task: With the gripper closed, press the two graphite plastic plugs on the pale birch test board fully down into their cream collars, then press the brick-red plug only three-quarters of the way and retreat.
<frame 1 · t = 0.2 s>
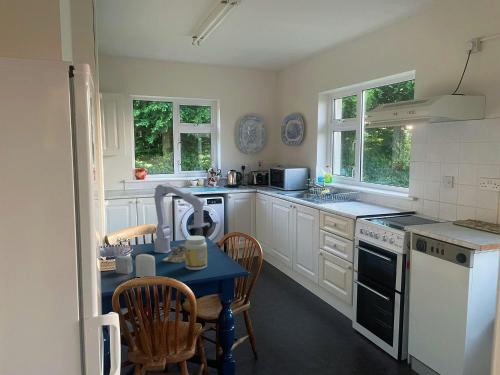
hand: (199, 239, 236), 10 cm above the table, fingers open, 7 cm apart
medicine box: (124, 272, 205), on the table
supplement tub: (196, 267, 213), on the table
test board: (181, 256, 233), on the table
red plug: (187, 245, 239), point 5 cm above the table, slide at 0.0 cm
plug b: (181, 248, 233), point 5 cm above the table, slide at 0.0 cm
plug a: (174, 251, 226), point 5 cm above the table, slide at 0.0 cm
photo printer: (145, 277, 197), on the table
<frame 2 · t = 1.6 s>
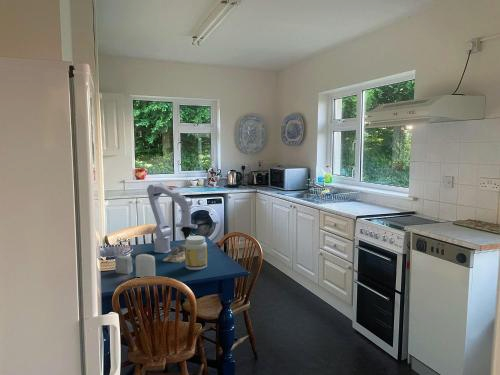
hand: (186, 239, 235), 10 cm above the table, fingers closed
nothing on the table moved.
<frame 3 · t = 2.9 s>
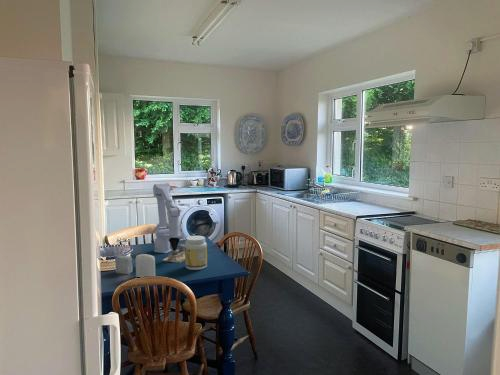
hand: (174, 250, 226), 6 cm above the table, fingers closed, pressing on plug a
plug a: (174, 253, 226), point 4 cm above the table, slide at 1.3 cm, touching gripper
everything else where it was.
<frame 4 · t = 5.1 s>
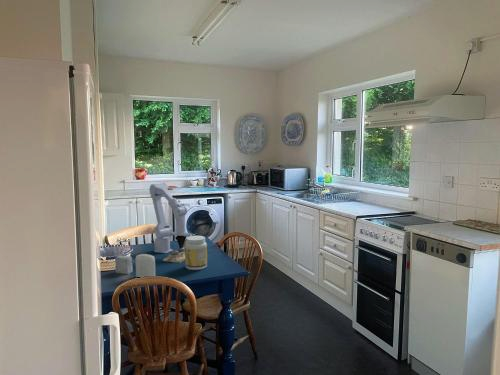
hand: (181, 247, 233), 6 cm above the table, fingers closed, pressing on plug b
plug b: (181, 251, 233), point 4 cm above the table, slide at 1.6 cm, touching gripper
plug a: (174, 254, 226), point 3 cm above the table, slide at 1.9 cm
everything else where it was.
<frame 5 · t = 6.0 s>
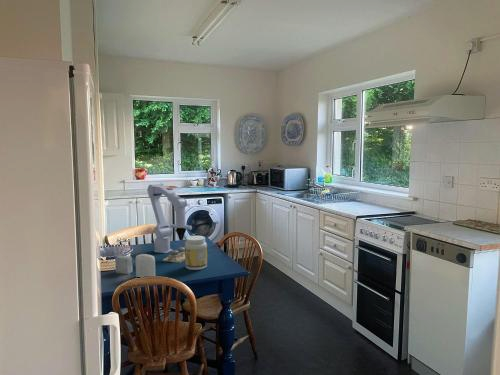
hand: (181, 240, 232), 10 cm above the table, fingers closed
plug b: (181, 251, 233), point 3 cm above the table, slide at 1.9 cm
everything else where it was.
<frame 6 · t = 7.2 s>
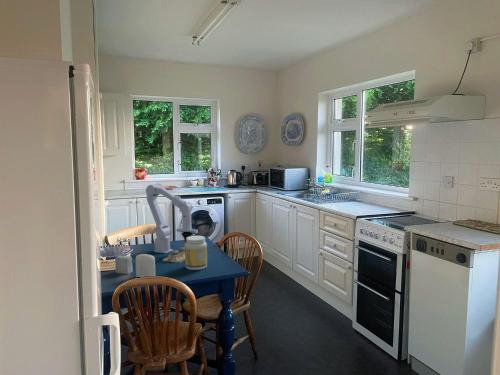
hand: (187, 243, 239), 7 cm above the table, fingers closed, pressing on red plug
red plug: (187, 246, 239), point 5 cm above the table, slide at 0.7 cm, touching gripper
everything else where it was.
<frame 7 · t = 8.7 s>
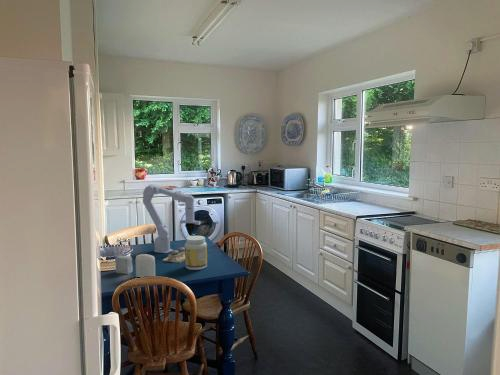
hand: (190, 234, 246), 10 cm above the table, fingers closed
red plug: (187, 247, 239), point 4 cm above the table, slide at 1.4 cm
everything else where it was.
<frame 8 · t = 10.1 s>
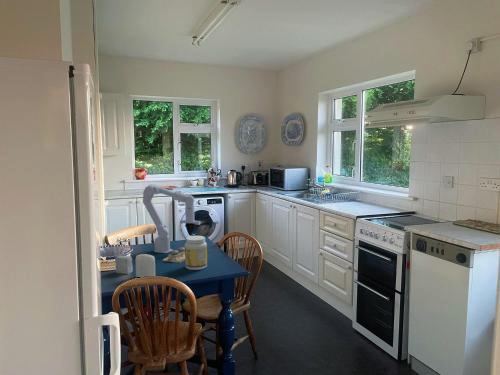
hand: (190, 234, 246), 10 cm above the table, fingers closed
nothing on the table moved.
at the end: plug a slide at 1.9 cm; plug b slide at 1.9 cm; red plug slide at 1.4 cm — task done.
